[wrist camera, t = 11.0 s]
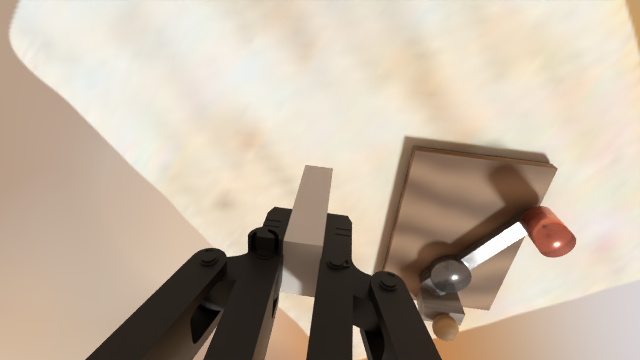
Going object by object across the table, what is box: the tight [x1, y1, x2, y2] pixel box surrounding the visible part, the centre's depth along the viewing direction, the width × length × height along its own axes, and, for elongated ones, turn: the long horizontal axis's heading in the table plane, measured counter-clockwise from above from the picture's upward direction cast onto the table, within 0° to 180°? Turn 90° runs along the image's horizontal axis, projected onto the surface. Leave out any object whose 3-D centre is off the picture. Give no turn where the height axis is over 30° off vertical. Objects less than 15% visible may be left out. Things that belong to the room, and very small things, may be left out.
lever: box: [418, 206, 576, 298], centre depth 47 cm, size 20×6×7 cm, turn 139°
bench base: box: [383, 146, 557, 341], centre depth 47 cm, size 26×18×10 cm
